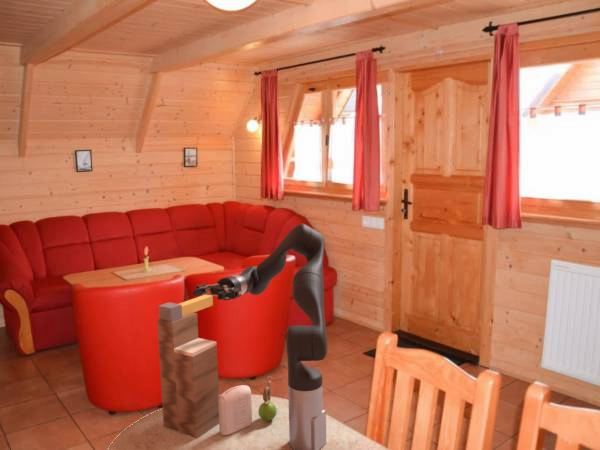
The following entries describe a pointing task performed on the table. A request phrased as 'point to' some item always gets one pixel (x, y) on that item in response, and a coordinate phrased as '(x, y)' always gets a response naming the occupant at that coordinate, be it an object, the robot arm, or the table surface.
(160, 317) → the bar
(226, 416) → the pink rounded block
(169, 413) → the step stand
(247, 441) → the table surface
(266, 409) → the green bud vase
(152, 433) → the table surface
